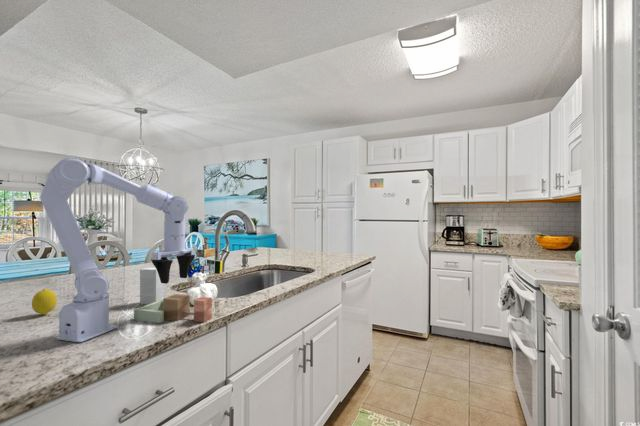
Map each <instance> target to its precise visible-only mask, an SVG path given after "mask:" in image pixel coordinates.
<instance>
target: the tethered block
mask: <svg viewBox="0 0 640 426" xmlns="http://www.w3.org/2000/svg"><path fill="white" fill-rule="evenodd" d="M163 311H164V321H176V322H178V321H181V320H182V319H185V318H187V317H189V316H190V315H193V322H194V323H195V322H196V323H198V322H199V323H206V322H207V321H210V320H211V319H213V300H212V298H211V297H200V298H198V299H195V300H194V305H193V311H191V303H190V295H186V294H173V295H170V296H167V297H164V299H163Z"/></svg>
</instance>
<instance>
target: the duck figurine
mask: <svg viewBox="0 0 640 426" xmlns="http://www.w3.org/2000/svg"><path fill="white" fill-rule="evenodd" d="M207 279H208V278H207V273H203V272H202V271H200V272H195V273H193V274H192V276H191V281H192V283H194V286H191V287H190V288H188V290H187V291H186V293H185V295H190V305H192V306H194V300H195V299H198V298H200V297H211V298H212V301H213V300H215V299H216V298H217V296H218V287H217V286H216V284H215V283H210V282H209V283H208V282H206V280H207Z"/></svg>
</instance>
